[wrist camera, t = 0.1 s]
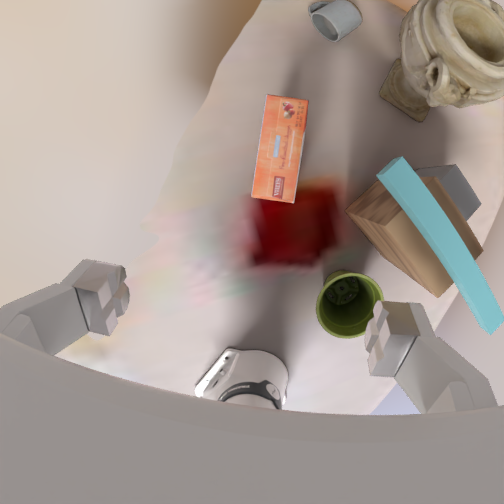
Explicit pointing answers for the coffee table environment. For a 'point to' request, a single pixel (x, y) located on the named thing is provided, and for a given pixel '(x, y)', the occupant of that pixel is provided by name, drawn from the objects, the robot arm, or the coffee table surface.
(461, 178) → the grey block
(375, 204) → the walnut tower
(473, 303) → the teal bar
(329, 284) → the plant pot
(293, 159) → the cracker box
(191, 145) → the coffee table surface
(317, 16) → the ceramic mug
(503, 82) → the urn
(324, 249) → the coffee table surface
